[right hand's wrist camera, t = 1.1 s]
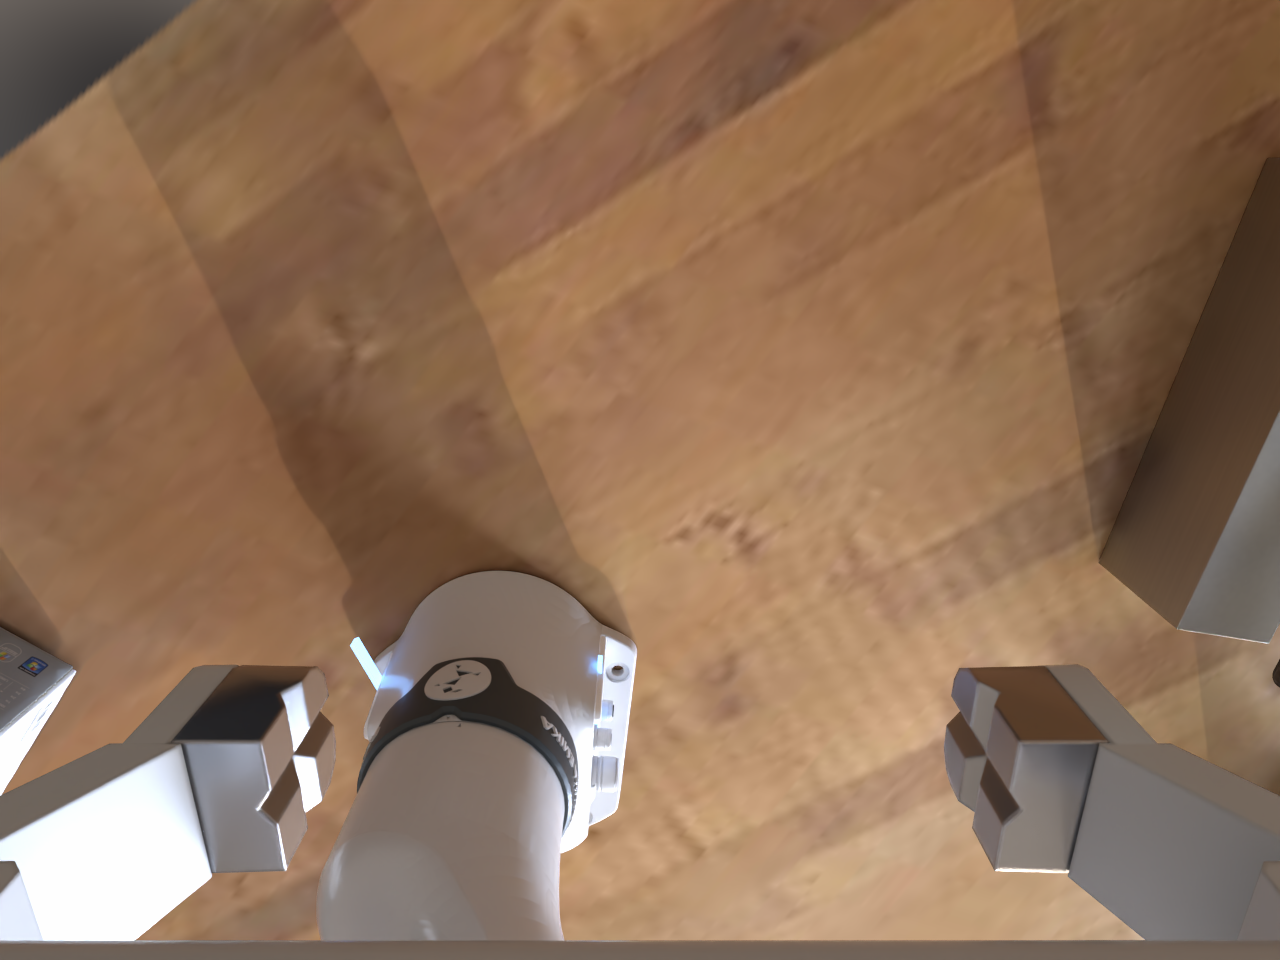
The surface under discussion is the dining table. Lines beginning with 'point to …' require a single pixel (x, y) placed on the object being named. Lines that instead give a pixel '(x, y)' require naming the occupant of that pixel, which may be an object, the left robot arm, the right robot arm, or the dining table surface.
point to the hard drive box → (25, 697)
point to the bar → (1217, 455)
